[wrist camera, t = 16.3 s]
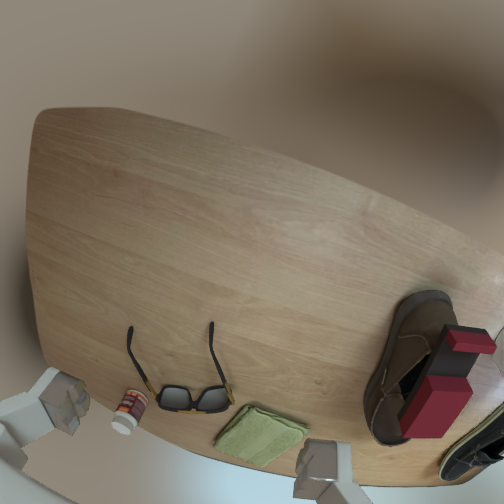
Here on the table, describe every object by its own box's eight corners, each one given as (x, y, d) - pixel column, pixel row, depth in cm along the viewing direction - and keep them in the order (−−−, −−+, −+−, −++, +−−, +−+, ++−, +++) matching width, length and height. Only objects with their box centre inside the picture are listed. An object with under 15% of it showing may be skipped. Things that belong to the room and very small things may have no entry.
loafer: (357, 427, 51) (360, 475, 41) (377, 287, 39) (395, 341, 29) (413, 420, 49) (422, 466, 39) (453, 282, 37) (485, 330, 27)
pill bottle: (137, 386, 54) (119, 419, 47) (153, 403, 56) (137, 436, 48) (122, 390, 56) (104, 421, 48) (137, 406, 57) (121, 437, 50)
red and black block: (444, 323, 29) (457, 344, 25) (485, 328, 28) (499, 348, 25) (396, 415, 34) (401, 438, 30) (435, 416, 33) (442, 438, 30)
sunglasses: (213, 320, 44) (203, 343, 40) (239, 392, 50) (233, 415, 46) (130, 325, 47) (116, 344, 43) (165, 391, 53) (156, 412, 49)
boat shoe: (423, 466, 56) (428, 496, 48) (512, 386, 43) (528, 420, 35) (452, 467, 56) (458, 495, 48) (535, 393, 43) (550, 422, 35)
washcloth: (314, 423, 51) (314, 437, 48) (265, 459, 59) (263, 471, 56) (249, 397, 50) (246, 412, 47) (209, 438, 58) (205, 450, 55)
